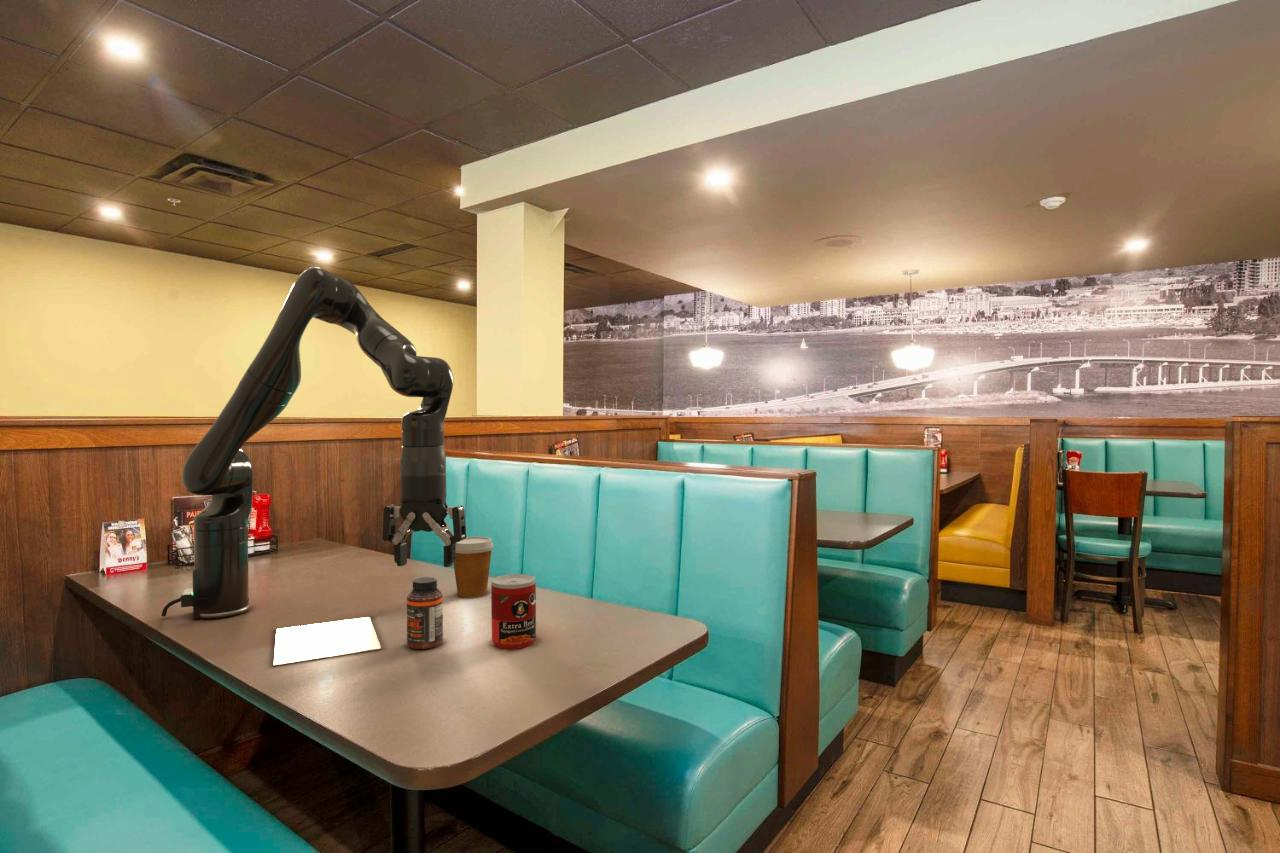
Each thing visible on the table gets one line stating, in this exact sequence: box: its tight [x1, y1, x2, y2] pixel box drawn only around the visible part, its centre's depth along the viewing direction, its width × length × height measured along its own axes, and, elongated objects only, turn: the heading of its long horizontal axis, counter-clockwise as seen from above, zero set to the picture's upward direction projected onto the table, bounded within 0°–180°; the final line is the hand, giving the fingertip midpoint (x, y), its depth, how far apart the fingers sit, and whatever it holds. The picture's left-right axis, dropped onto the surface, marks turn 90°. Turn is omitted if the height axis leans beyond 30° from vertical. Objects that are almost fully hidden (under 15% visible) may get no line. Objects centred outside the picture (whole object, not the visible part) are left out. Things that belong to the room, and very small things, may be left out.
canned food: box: [490, 573, 537, 650], centre depth 116 cm, size 8×8×11 cm
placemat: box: [273, 616, 382, 667], centre depth 118 cm, size 16×20×1 cm
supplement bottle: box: [406, 576, 444, 650], centre depth 115 cm, size 6×6×11 cm
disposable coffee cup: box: [453, 536, 495, 599], centre depth 147 cm, size 10×10×12 cm
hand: (424, 565), depth 115 cm, fingers open, 8 cm apart
